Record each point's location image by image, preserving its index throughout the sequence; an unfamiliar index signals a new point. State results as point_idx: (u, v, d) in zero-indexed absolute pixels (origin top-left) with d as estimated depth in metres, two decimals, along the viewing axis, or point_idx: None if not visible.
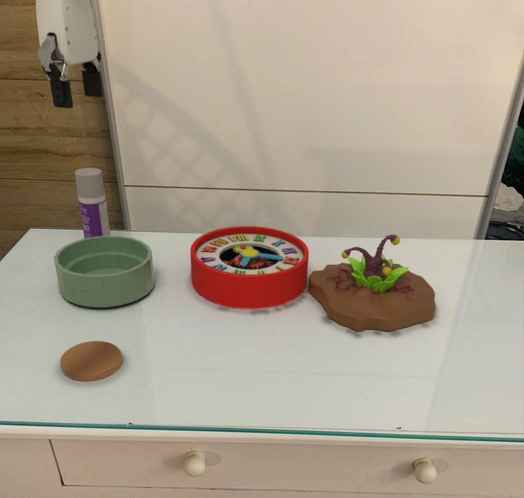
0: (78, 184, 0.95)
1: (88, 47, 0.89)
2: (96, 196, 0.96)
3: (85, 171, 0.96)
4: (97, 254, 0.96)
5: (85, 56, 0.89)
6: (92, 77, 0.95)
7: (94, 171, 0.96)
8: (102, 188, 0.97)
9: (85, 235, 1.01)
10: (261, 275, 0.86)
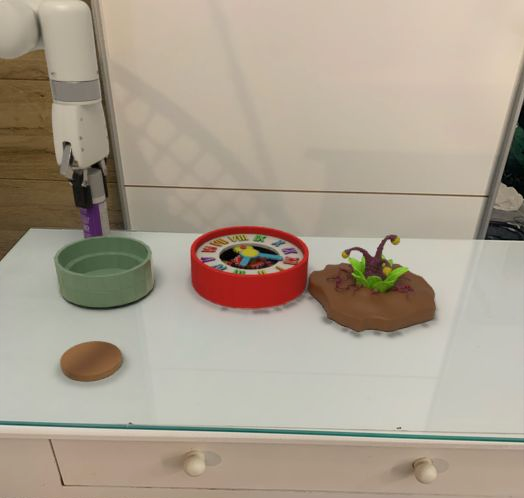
0: None
1: (100, 148, 0.94)
2: (96, 196, 0.96)
3: None
4: (97, 254, 0.96)
5: (97, 157, 0.94)
6: None
7: (94, 171, 0.96)
8: (102, 188, 0.97)
9: (85, 235, 1.01)
10: (261, 275, 0.86)
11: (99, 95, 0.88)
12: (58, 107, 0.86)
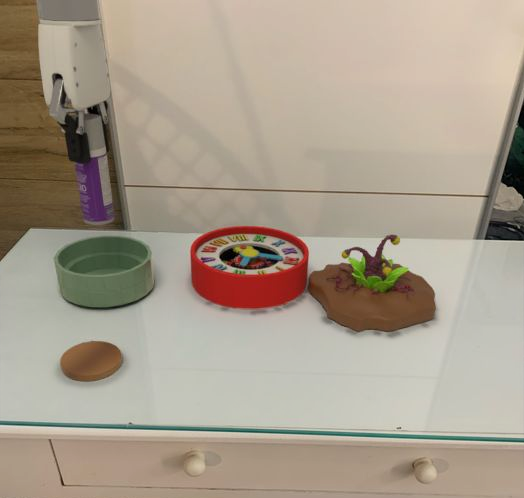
0: None
1: (99, 87, 0.76)
2: (95, 148, 0.78)
3: None
4: (97, 254, 0.96)
5: (96, 97, 0.76)
6: None
7: (91, 116, 0.78)
8: (102, 138, 0.79)
9: (81, 198, 0.83)
10: (261, 275, 0.86)
11: (98, 15, 0.70)
12: (47, 28, 0.68)
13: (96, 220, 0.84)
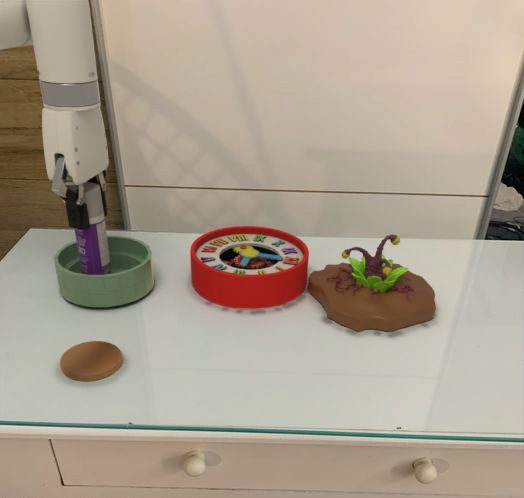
0: None
1: (98, 160, 0.81)
2: (94, 216, 0.83)
3: None
4: None
5: (95, 170, 0.81)
6: None
7: (91, 186, 0.83)
8: (101, 206, 0.84)
9: (81, 259, 0.88)
10: (261, 275, 0.86)
11: (98, 99, 0.75)
12: (50, 114, 0.73)
13: None
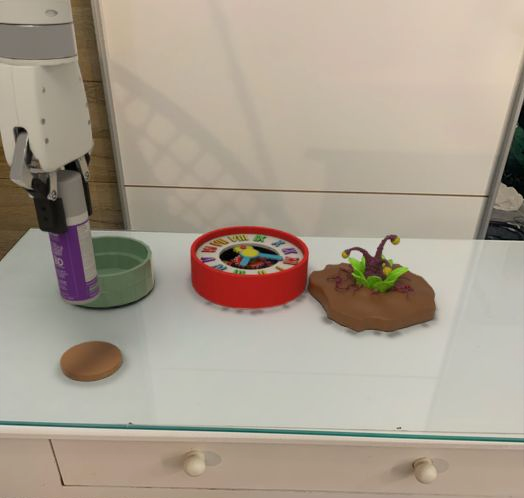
0: None
1: (78, 139, 0.59)
2: (73, 214, 0.62)
3: None
4: (97, 254, 0.96)
5: (73, 152, 0.59)
6: None
7: (69, 175, 0.61)
8: (82, 202, 0.62)
9: (57, 272, 0.66)
10: (261, 275, 0.86)
11: (74, 51, 0.54)
12: (4, 69, 0.51)
13: (76, 299, 0.67)
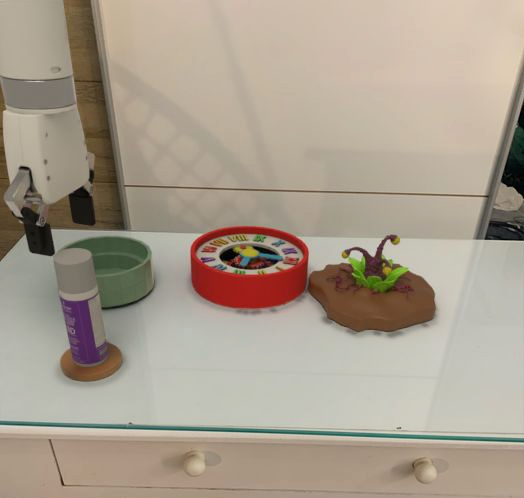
0: (58, 275, 0.66)
1: (76, 174, 0.67)
2: (85, 290, 0.67)
3: (68, 255, 0.66)
4: (97, 254, 0.96)
5: (72, 186, 0.66)
6: (82, 203, 0.72)
7: (81, 254, 0.67)
8: (93, 278, 0.68)
9: (70, 339, 0.71)
10: (261, 275, 0.86)
11: (73, 100, 0.61)
12: (12, 117, 0.58)
13: (87, 362, 0.73)
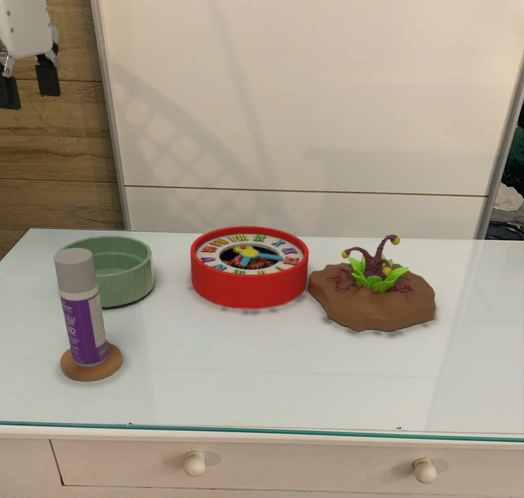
0: (59, 274, 0.66)
1: (39, 36, 0.74)
2: (85, 290, 0.67)
3: (68, 255, 0.66)
4: (97, 254, 0.96)
5: (35, 47, 0.74)
6: (47, 73, 0.80)
7: (81, 254, 0.67)
8: (93, 278, 0.68)
9: (70, 339, 0.71)
10: (261, 275, 0.86)
11: None
12: None
13: (87, 362, 0.73)
